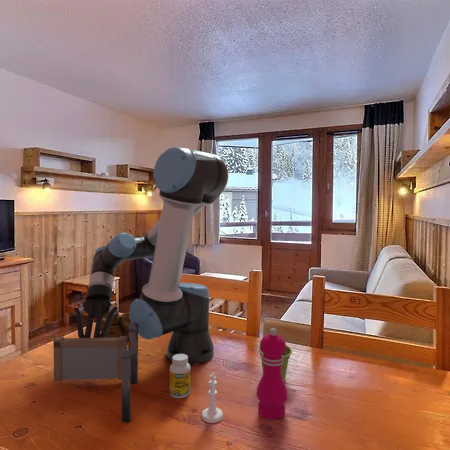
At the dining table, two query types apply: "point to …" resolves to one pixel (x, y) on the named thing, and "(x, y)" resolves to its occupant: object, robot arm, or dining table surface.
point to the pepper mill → (272, 377)
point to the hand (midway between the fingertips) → (87, 363)
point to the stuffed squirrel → (117, 325)
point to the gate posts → (129, 371)
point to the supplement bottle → (180, 376)
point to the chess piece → (212, 404)
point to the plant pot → (285, 361)
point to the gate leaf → (88, 358)
